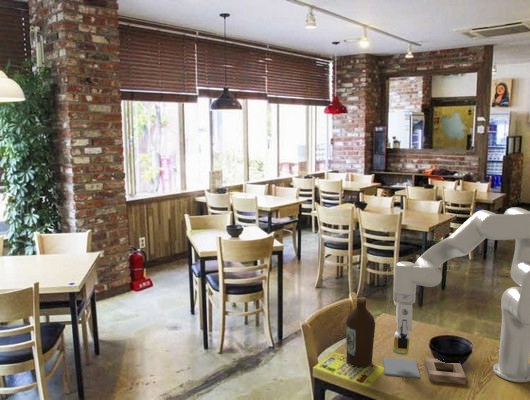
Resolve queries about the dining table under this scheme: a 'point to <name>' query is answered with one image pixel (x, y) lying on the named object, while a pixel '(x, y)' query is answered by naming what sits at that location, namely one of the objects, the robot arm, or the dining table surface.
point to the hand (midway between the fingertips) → (401, 343)
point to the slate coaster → (400, 367)
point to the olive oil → (360, 335)
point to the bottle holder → (440, 376)
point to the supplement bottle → (395, 346)
